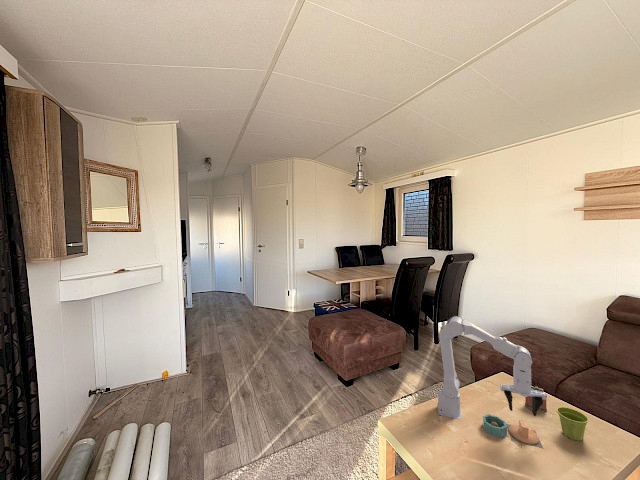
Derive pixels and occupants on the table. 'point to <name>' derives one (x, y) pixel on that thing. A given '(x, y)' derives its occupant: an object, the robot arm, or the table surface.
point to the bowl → (494, 430)
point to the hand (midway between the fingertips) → (522, 411)
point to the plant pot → (572, 423)
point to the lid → (523, 433)
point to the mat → (522, 442)
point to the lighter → (529, 400)
